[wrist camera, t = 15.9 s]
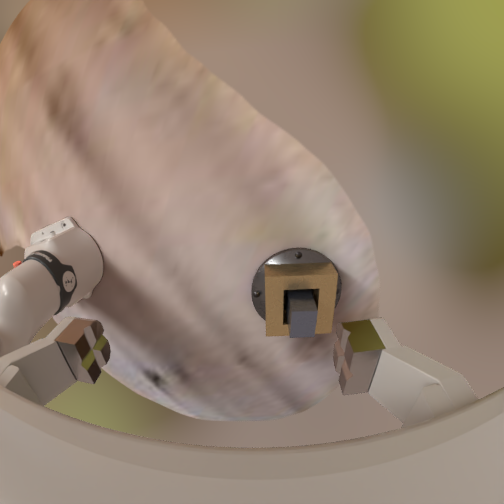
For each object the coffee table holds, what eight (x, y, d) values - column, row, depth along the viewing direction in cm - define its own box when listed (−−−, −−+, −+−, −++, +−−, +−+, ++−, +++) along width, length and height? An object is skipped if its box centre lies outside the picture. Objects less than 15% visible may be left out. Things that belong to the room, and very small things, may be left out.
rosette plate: (253, 327, 55) (252, 346, 49) (249, 249, 49) (248, 262, 43) (335, 323, 54) (342, 341, 48) (343, 246, 48) (353, 259, 42)
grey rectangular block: (285, 305, 51) (289, 337, 42) (286, 281, 50) (291, 311, 40) (305, 304, 51) (314, 336, 42) (307, 281, 50) (317, 310, 40)
